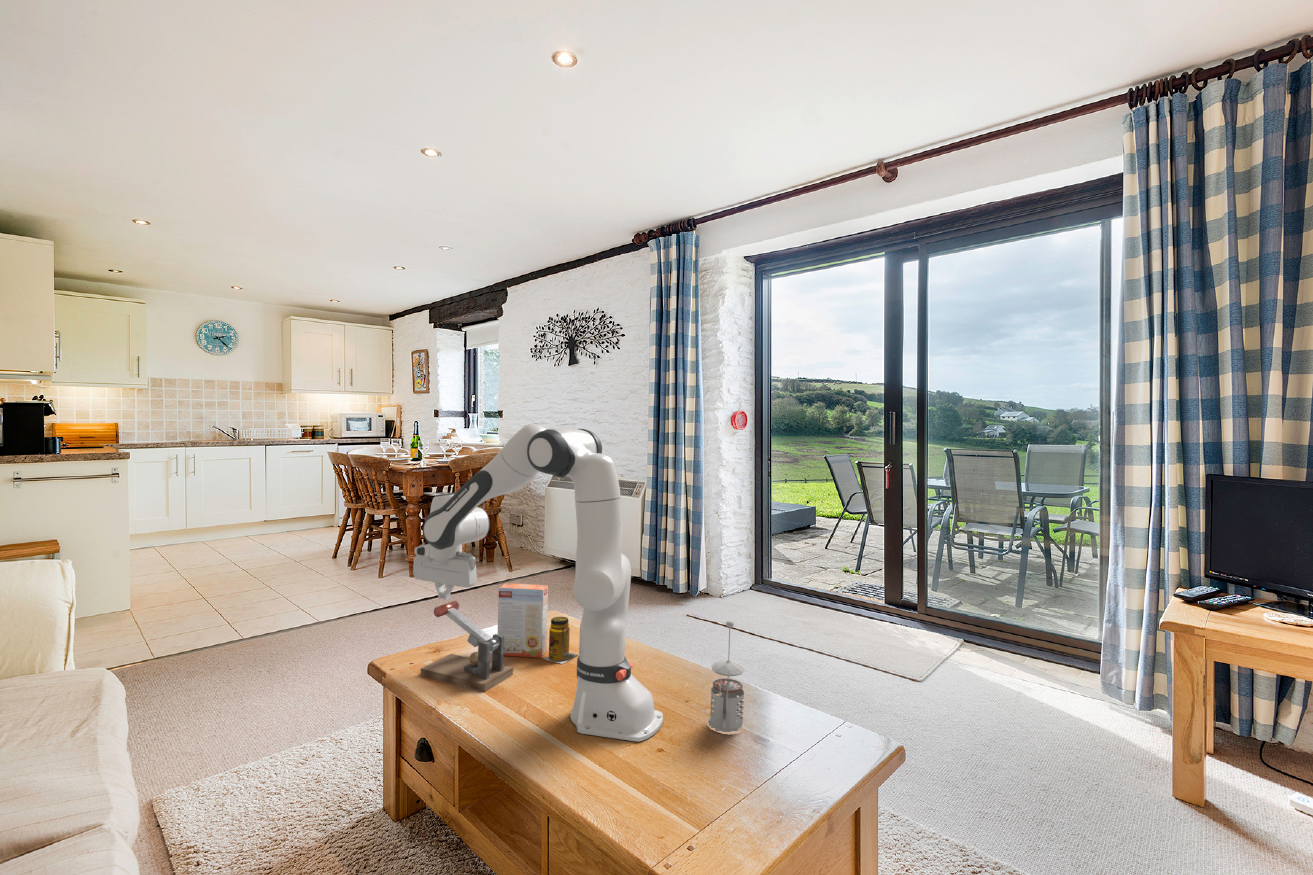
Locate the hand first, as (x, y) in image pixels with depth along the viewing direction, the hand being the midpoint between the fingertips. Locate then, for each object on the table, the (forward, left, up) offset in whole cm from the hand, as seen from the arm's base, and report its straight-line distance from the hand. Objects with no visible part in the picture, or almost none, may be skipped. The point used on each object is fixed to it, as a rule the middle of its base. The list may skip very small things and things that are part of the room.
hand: (444, 598), depth 168 cm
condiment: (-25, -23, -20) cm, 39 cm away
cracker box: (-13, -20, -20) cm, 31 cm away
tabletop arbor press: (-9, 0, -20) cm, 22 cm away
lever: (-8, 0, -9) cm, 12 cm away
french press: (-82, -5, -20) cm, 84 cm away
